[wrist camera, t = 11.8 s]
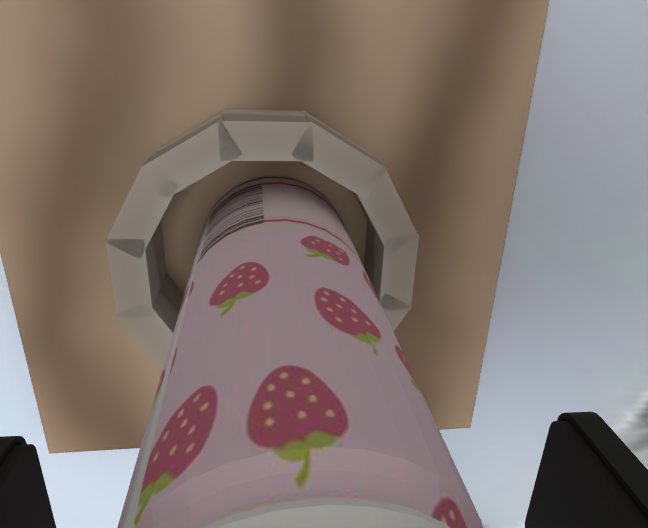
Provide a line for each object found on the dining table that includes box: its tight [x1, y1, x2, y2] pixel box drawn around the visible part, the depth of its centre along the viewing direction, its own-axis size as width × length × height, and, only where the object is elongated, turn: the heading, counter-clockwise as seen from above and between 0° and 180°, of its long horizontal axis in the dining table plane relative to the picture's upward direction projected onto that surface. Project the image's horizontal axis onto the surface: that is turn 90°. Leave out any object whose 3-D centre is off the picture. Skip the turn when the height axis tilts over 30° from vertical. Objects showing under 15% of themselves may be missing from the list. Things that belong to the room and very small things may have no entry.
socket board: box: [0, 0, 549, 453], centre depth 19 cm, size 20×20×4 cm
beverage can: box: [118, 178, 483, 528], centre depth 13 cm, size 6×6×15 cm
